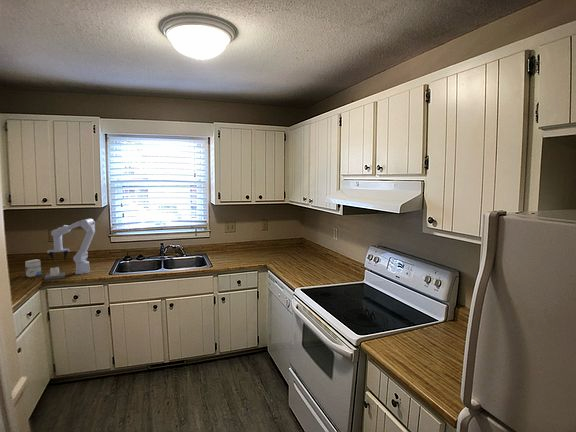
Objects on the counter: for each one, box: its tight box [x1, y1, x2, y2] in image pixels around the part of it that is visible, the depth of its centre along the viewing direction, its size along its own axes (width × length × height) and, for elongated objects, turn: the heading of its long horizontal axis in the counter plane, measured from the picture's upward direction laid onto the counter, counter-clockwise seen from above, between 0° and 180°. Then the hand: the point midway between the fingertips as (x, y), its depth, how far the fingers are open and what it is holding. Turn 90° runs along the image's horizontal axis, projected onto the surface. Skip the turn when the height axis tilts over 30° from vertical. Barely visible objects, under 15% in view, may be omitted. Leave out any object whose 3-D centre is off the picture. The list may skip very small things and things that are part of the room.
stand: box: [43, 272, 66, 281], centre depth 260 cm, size 12×10×2 cm
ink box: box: [24, 259, 42, 278], centre depth 264 cm, size 8×5×12 cm, turn 152°
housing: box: [49, 266, 60, 277], centre depth 259 cm, size 7×5×5 cm
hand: (59, 260), depth 272 cm, fingers open, 7 cm apart
